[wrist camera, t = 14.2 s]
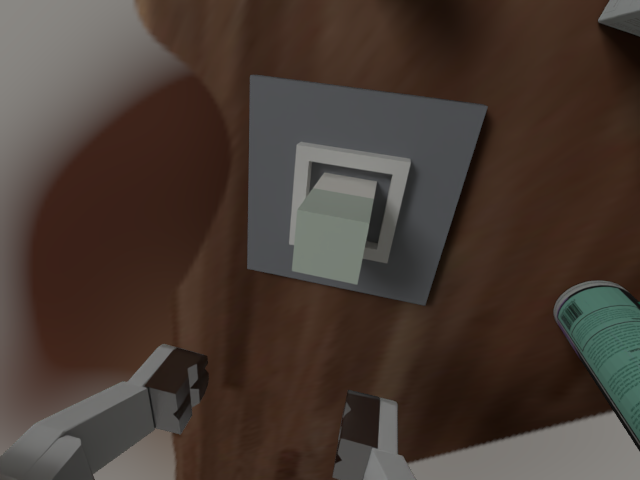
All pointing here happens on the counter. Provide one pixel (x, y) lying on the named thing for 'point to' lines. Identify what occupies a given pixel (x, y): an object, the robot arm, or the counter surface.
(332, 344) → the counter surface
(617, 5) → the supplement box
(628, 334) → the spray can
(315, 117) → the square peg socket board
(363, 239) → the block stack
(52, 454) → the robot arm
